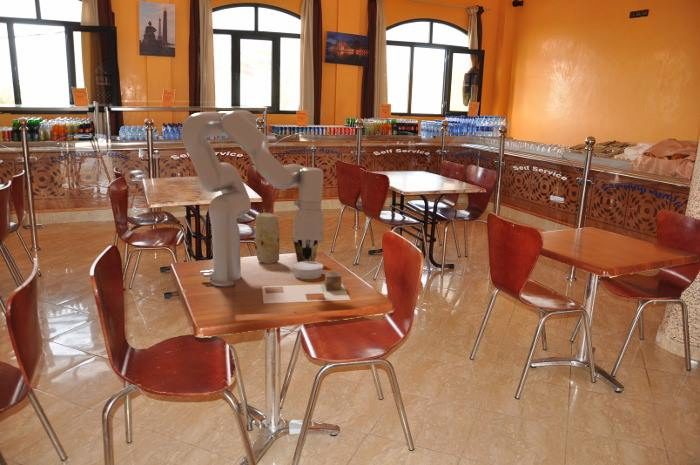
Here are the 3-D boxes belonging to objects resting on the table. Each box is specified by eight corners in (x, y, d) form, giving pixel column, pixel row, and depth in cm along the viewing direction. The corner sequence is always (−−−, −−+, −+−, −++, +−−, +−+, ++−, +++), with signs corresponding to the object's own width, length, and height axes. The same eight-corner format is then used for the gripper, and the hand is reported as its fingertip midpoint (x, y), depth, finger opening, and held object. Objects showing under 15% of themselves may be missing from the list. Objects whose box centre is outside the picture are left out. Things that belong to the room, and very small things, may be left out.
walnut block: (326, 290, 192) (326, 276, 191) (324, 285, 197) (325, 272, 195) (341, 290, 193) (341, 276, 191) (339, 285, 197) (339, 271, 196)
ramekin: (325, 275, 213) (325, 261, 212) (320, 284, 202) (320, 270, 201) (295, 273, 214) (295, 260, 213) (289, 283, 203) (289, 269, 202)
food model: (280, 260, 230) (280, 212, 225) (278, 265, 224) (278, 215, 219) (256, 259, 230) (255, 211, 225) (253, 264, 224) (252, 214, 219)
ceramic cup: (321, 266, 223) (321, 242, 220) (296, 268, 220) (296, 243, 218) (313, 257, 235) (313, 234, 233) (289, 258, 232) (289, 235, 230)
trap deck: (263, 307, 180) (263, 303, 179) (262, 290, 195) (262, 286, 194) (350, 304, 184) (350, 299, 184) (342, 287, 200) (342, 283, 199)
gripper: (287, 207, 181) (285, 261, 186) (333, 208, 184) (329, 262, 189) (286, 201, 189) (283, 254, 193) (330, 203, 191) (326, 255, 196)
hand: (306, 258), depth 191 cm, fingers closed
